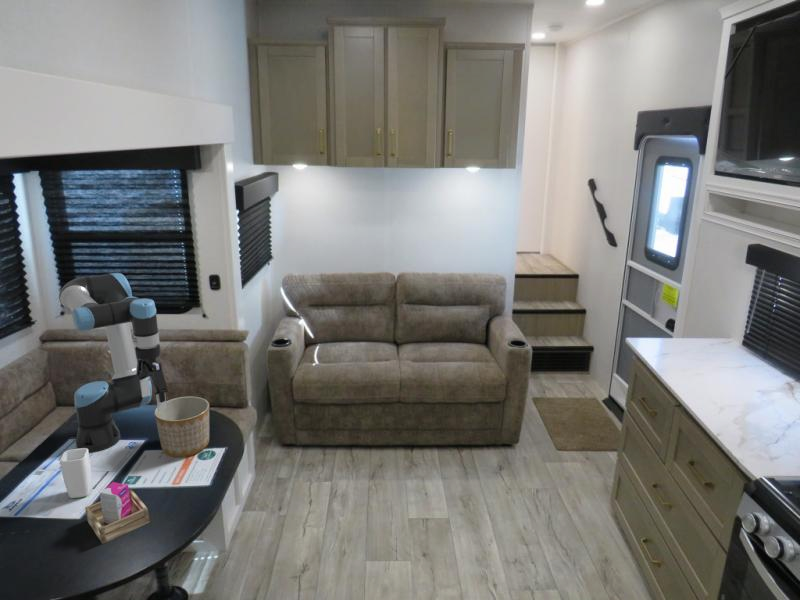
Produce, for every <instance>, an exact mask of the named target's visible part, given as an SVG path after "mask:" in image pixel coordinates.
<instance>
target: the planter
mask: <svg viewBox="0 0 800 600" xmlns="http://www.w3.org/2000/svg"><path fill="white" fill-rule="evenodd" d="M166 406H167V409H164V410H161V411H158V407H156V408H155V409H154V413H153V414H154V418H155V422H156V428H157V432H158V437H159V443H160V447H161V451H163V453H164V454H166V455H167V456H169V457H172V458H173V457H175V458H185V457H189V456H194V455H196V454H198V453H200V452H202V451H203V450H204V449H205V448H206V447H208V445H209V443H210V402H209V401H208V400H207V399H205V398H202V397H200V396H199V397H198V396H191V395H190V396H189V395H188V396H181V397H180V396H179V397H176V398H171V399H169V400H166Z"/></svg>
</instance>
